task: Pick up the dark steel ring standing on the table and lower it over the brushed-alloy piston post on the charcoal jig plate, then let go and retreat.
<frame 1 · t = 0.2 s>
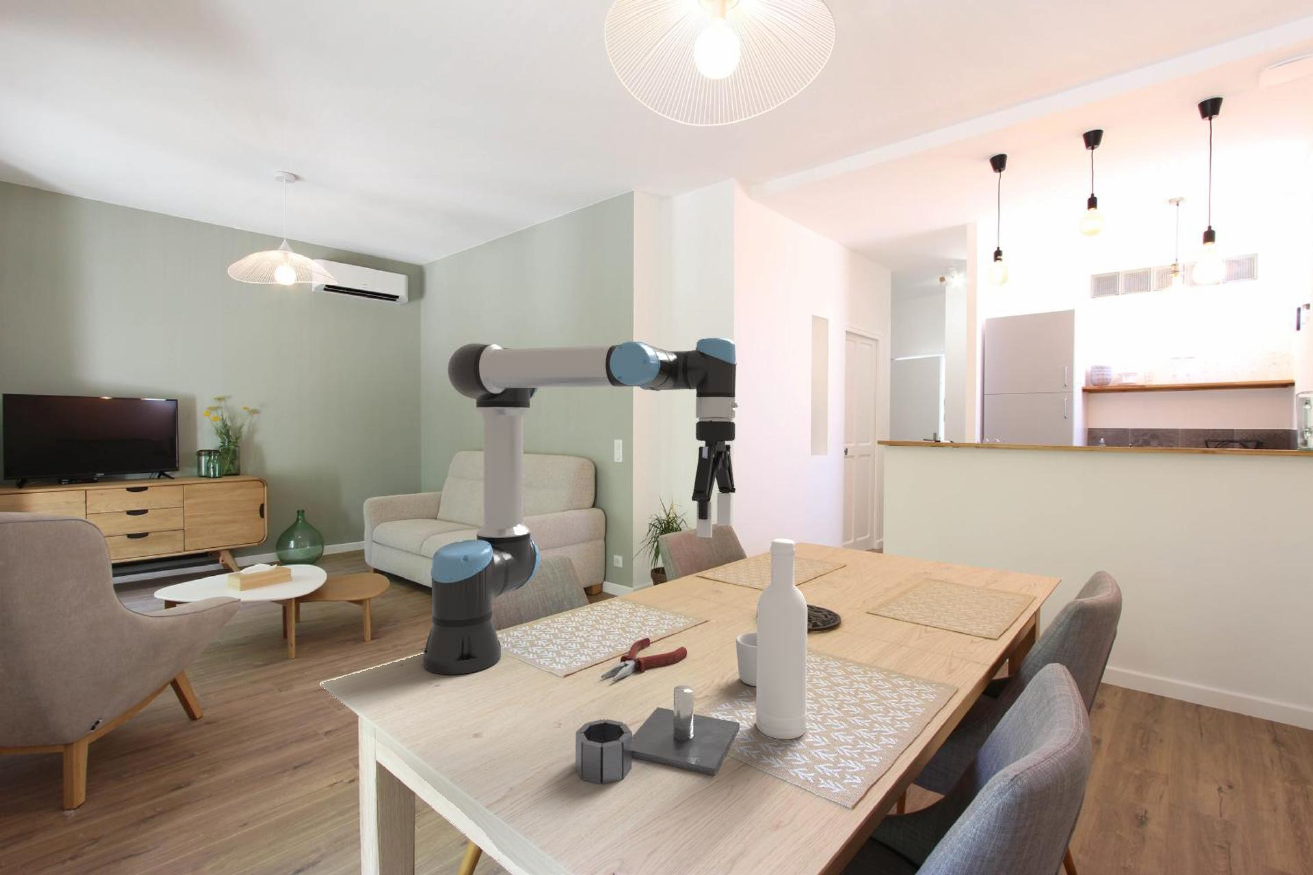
hand: (714, 531, 118), 28 cm above the table, fingers open, 13 cm apart
ring: (603, 767, 87), on the table
bottle: (780, 728, 98), on the table
cup: (764, 683, 115), on the table
pliers: (636, 665, 125), on the table
piston jig: (683, 741, 94), on the table
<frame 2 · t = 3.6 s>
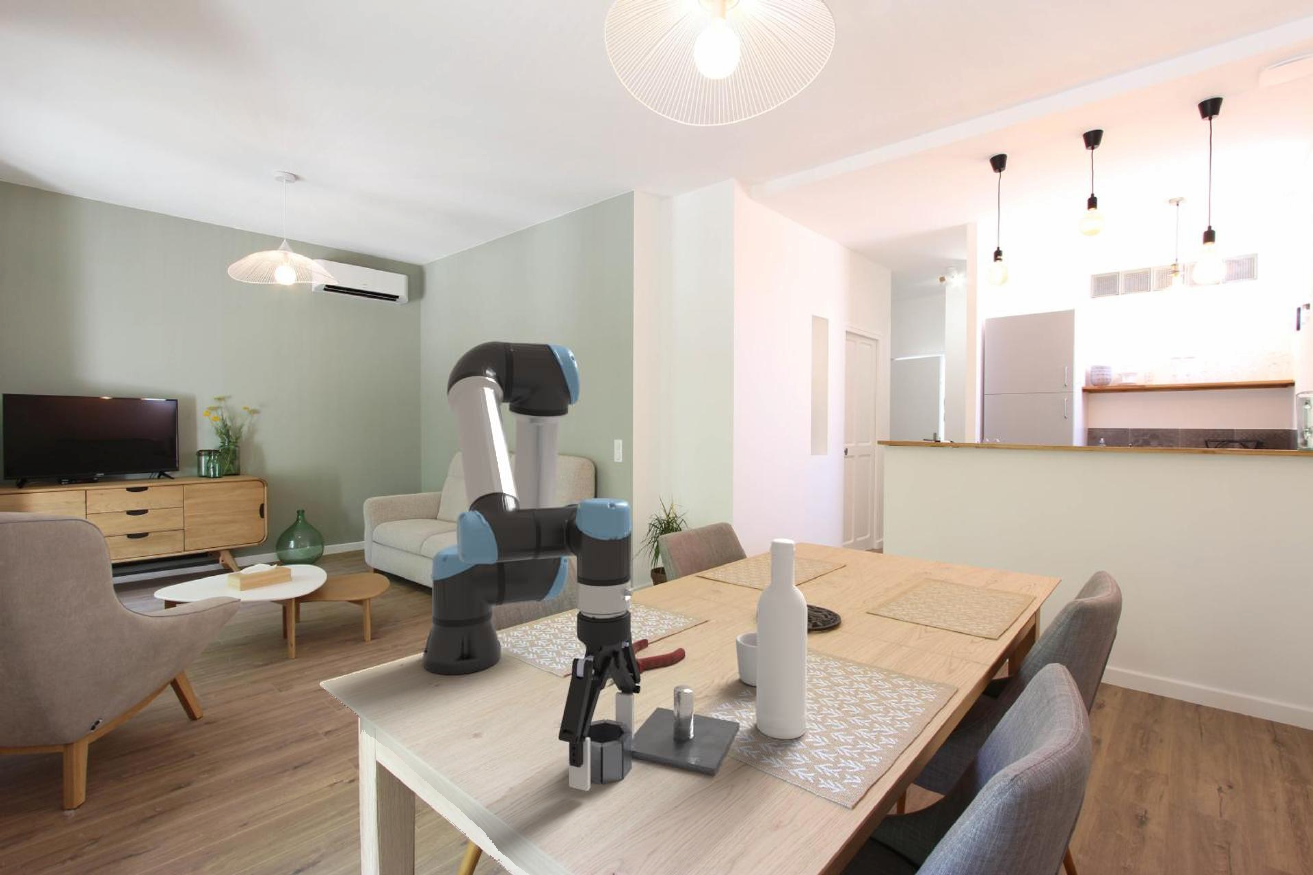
hand: (603, 761, 86), 1 cm above the table, fingers open, 13 cm apart
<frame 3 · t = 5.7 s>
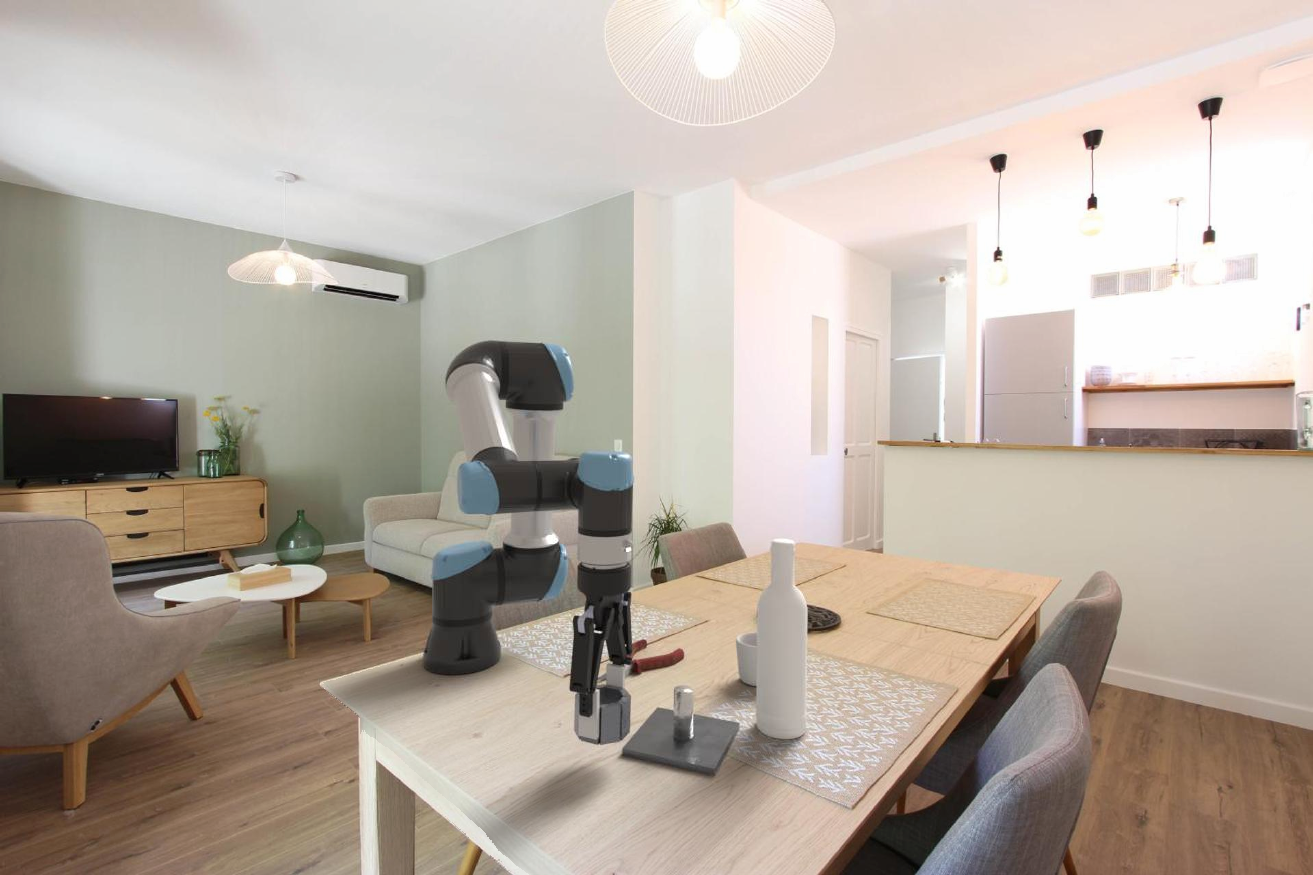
hand: (602, 721, 87), 6 cm above the table, fingers closed on ring, 7 cm apart
ring: (602, 730, 87), point 5 cm above the table, touching gripper
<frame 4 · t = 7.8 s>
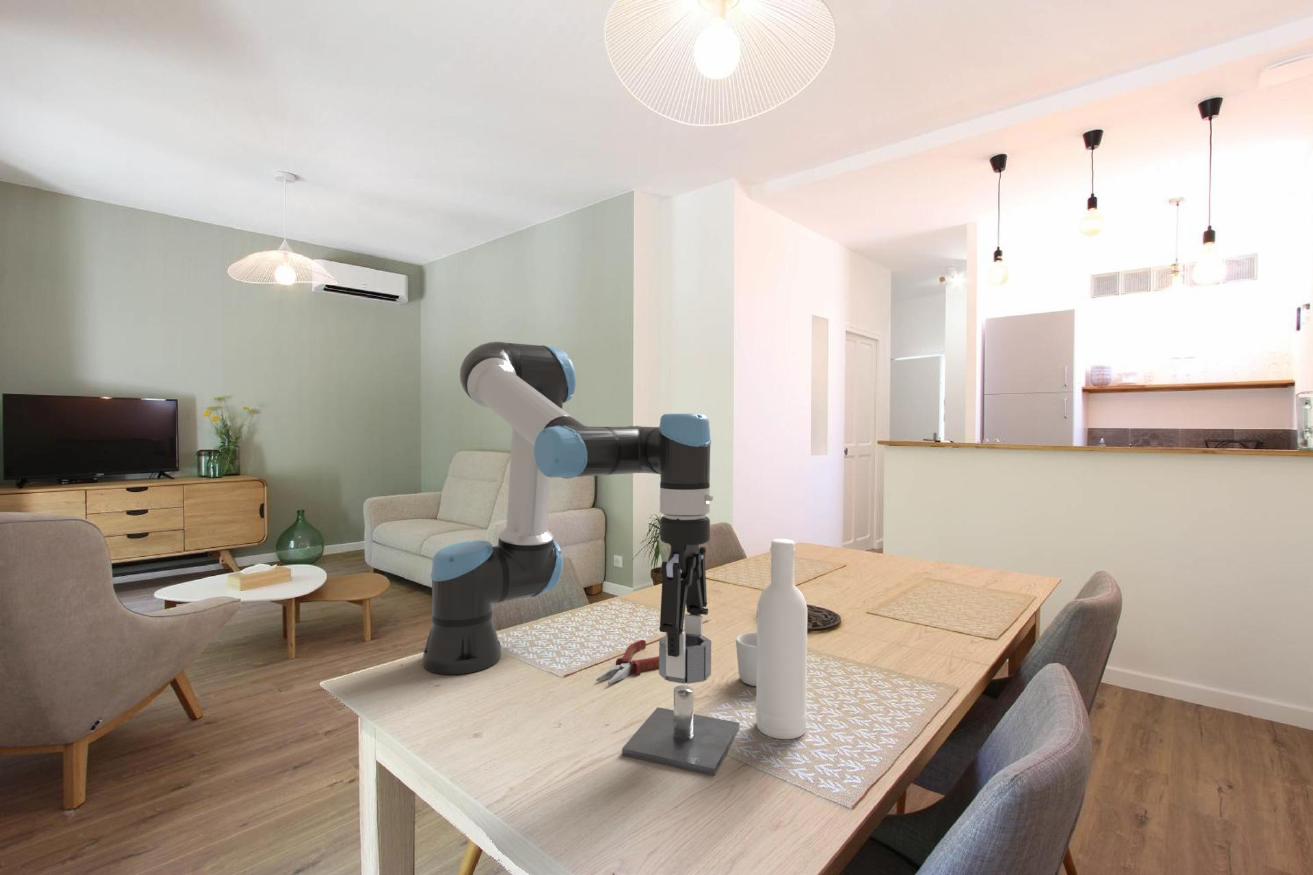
hand: (684, 665, 93), 12 cm above the table, fingers closed on ring, 7 cm apart
ring: (685, 673, 93), point 11 cm above the table, touching gripper
when the fingers open (3 cm above the table, at t = 10.2 s): ring stays where it is, resting on piston jig.
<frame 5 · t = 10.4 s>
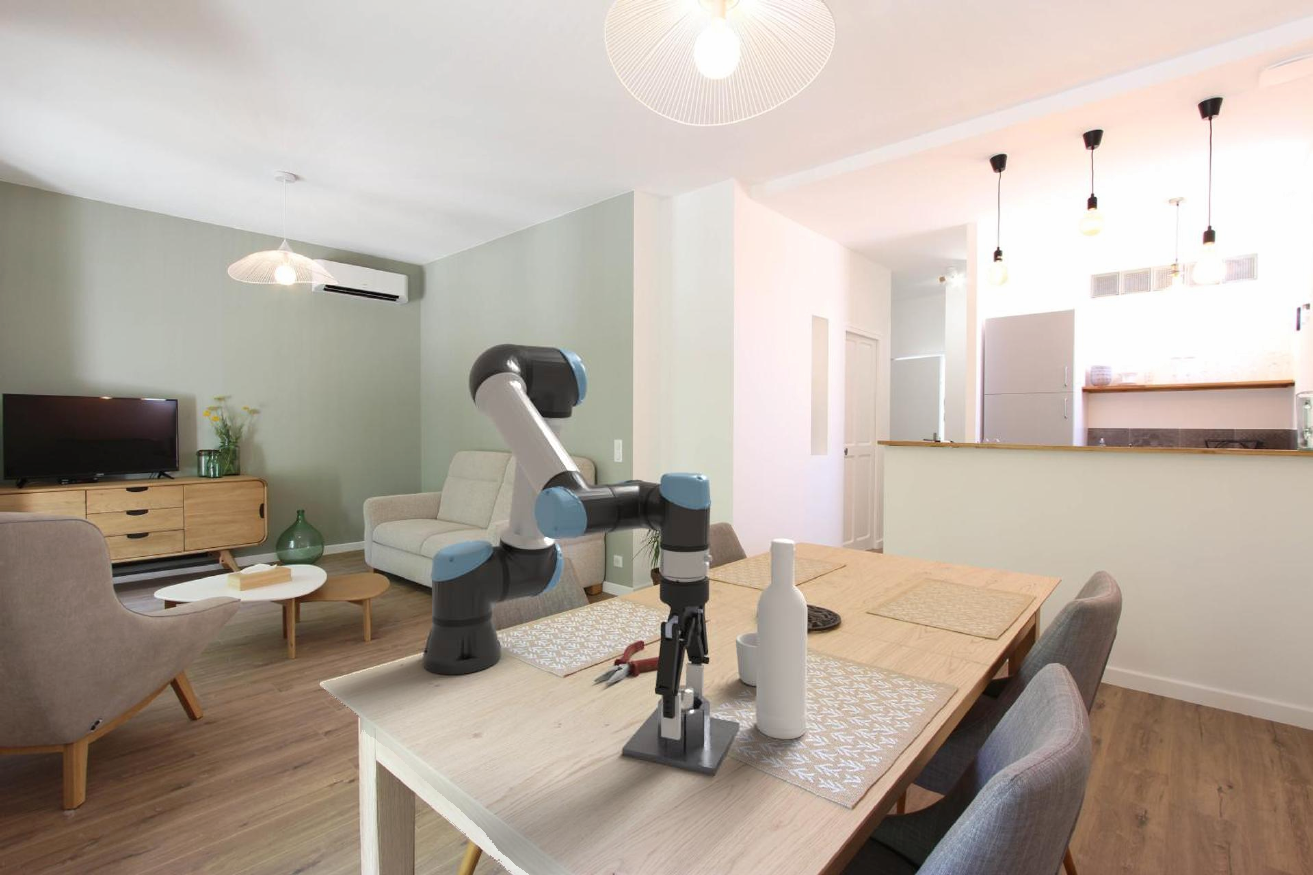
hand: (683, 720, 94), 3 cm above the table, fingers open, 10 cm apart
ring: (683, 734, 94), point 1 cm above the table, touching piston jig
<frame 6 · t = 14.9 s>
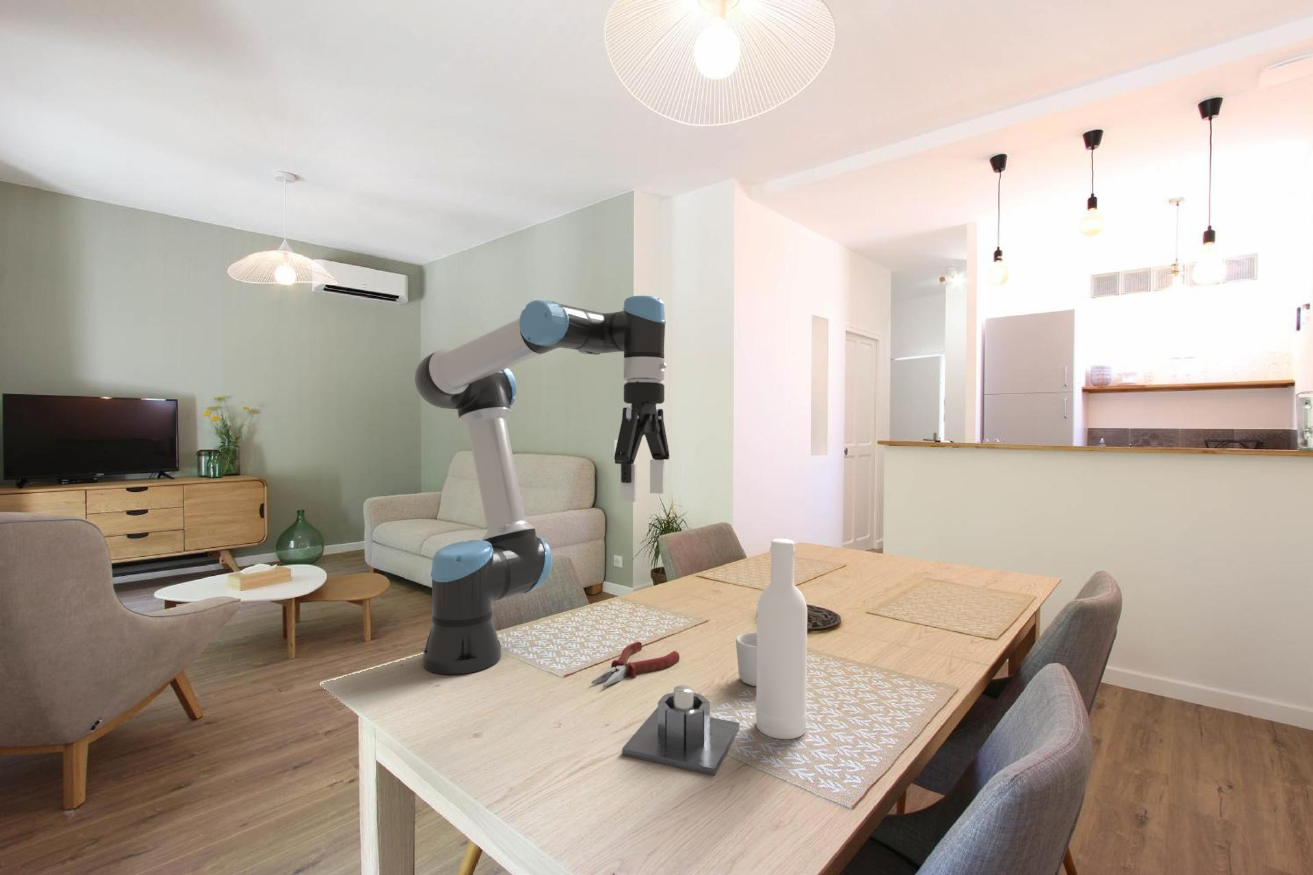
hand: (643, 497, 114), 35 cm above the table, fingers open, 13 cm apart
at the end: ring 0.1 cm off-centre on the piston jig, point 1.0 cm above the piston jig's base; the gripper is holding nothing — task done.
